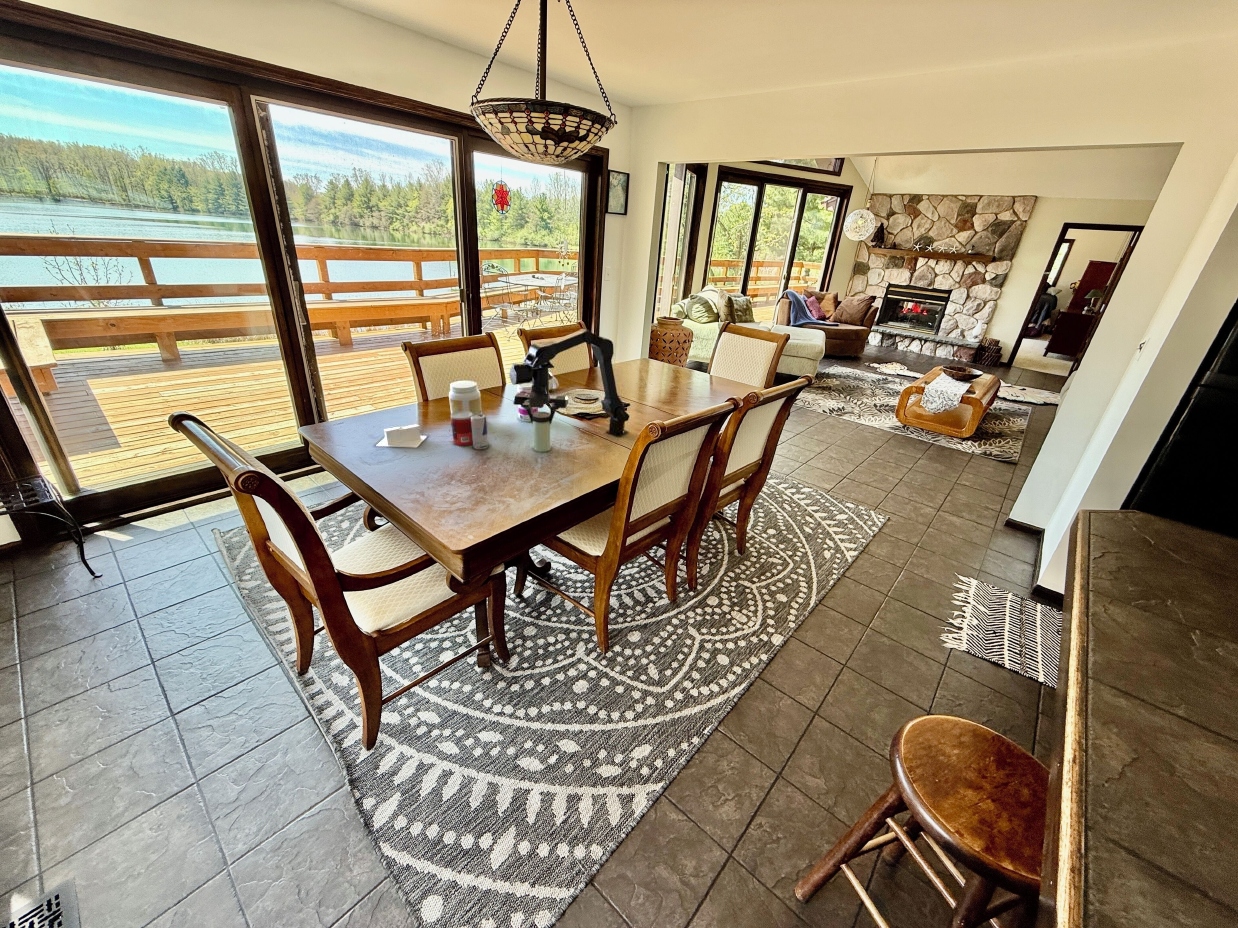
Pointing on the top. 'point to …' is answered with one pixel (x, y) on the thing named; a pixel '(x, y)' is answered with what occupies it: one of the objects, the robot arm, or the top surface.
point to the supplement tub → (465, 397)
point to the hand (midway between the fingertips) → (541, 422)
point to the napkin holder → (402, 437)
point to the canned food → (462, 428)
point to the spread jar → (552, 382)
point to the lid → (541, 417)
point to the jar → (541, 436)
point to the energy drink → (479, 431)
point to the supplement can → (522, 411)
